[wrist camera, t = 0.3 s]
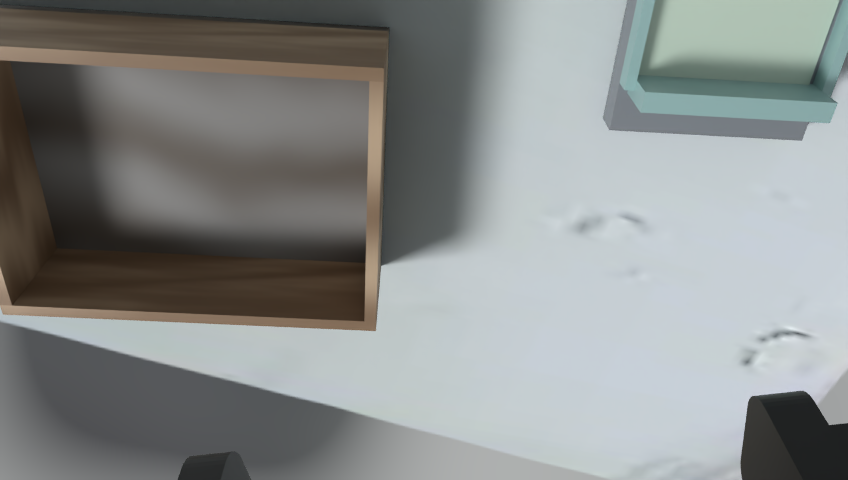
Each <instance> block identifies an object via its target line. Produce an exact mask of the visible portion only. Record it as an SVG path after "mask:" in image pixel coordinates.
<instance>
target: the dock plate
mask: <svg viewBox="0 0 848 480" xmlns="http://www.w3.org/2000/svg"><path fill="white" fill-rule="evenodd" d="M847 52H848V0H627V5H626V10H625V15H624V20H623V25H622V29H621V34H620V39H619V44H618V49H617V54H616V58H615V63H614V68H613V73H612V78H611V83H610V88H609V92H608V97H607V102H606V107H605V112H604V117H603V119H604V121H605V123H606V125H607V127H608V128H609V130H618V131H636V132H655V133H673V134H691V135H709V136H727V137H746V138H764V139H782V140H800V141H802V139H803V136H804V134H805V131H806V128H807V125H808V123H809V122H818V123H830V121H831V119H832V116H833V114H834V111H835V109H836V106H837V102H836V101H834V100H833V99H832V98H830V97H831V95H832V92H833V89H834V87H835V84H836V81H837V79H838V76H839V74H840V71H841V68H842V66H843V63H844V60H845V58H846V55H847Z"/></svg>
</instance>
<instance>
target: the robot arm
mask: <svg viewBox="0 0 848 480" xmlns="http://www.w3.org/2000/svg"><path fill="white" fill-rule="evenodd" d="M741 474H742V480H848V423H847V424H836V425H828V423H827V421H826V420H825V418H824V416H823V415H822V413H821V412H820V410H819V408H818V407H817V405H816V403H815V402H814V400H813V399H812V397H811V396H810V395H809V394H808V393H806V392H804V391H796V392H787V393H778V394H769V395H759V396H752V397H751V398H750V399H749V402H748V408H747V416H746V423H745V431H744V439H743V447H742V455H741ZM178 480H251V478H250V476H249V474H248V472H247V469H246V467H245V465H244V463H243V461H242V458H241V457H240V455H239V454H238V453H237V452H225V453H215V454H206V455H197V456H190V457H189V458H187V459H186V461H185V463H184V464H183V466H182V469H181V472H180V475H179V477H178Z"/></svg>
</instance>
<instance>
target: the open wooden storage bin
mask: <svg viewBox="0 0 848 480" xmlns="http://www.w3.org/2000/svg"><path fill="white" fill-rule="evenodd" d="M388 50H389V28H387V27H370V26H354V25H337V24H320V23H303V22H286V21H269V20H253V19H236V18H219V17H202V16H185V15H169V14H152V13H135V12H118V11H101V10H85V9H68V8H51V7H34V6H17V5H0V307H1V310H2V313H3V314H4V315H27V316H49V317H72V318H94V319H117V320H140V321H162V322H185V323H207V324H230V325H253V326H275V327H298V328H320V329H343V330H366V331H376V321H377V309H378V297H379V285H380V272H381V252H382V223H383V194H384V165H385V136H386V108H387V79H388Z"/></svg>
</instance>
